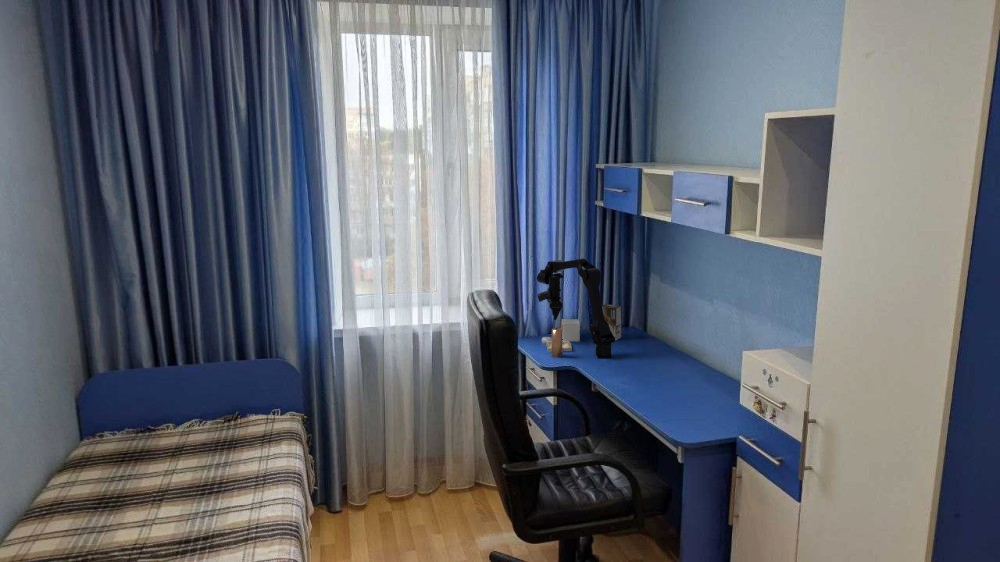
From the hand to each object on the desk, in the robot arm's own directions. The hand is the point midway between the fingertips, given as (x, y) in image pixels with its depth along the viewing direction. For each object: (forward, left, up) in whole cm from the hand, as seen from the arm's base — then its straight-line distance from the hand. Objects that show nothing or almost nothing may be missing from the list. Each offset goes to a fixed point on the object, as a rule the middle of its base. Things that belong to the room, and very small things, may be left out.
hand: (554, 317), depth 330 cm
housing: (-8, 0, -11) cm, 14 cm away
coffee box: (-28, -2, -11) cm, 30 cm away
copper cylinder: (+1, +27, -11) cm, 29 cm away
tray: (-1, +15, -11) cm, 19 cm away
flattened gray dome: (+4, +6, -11) cm, 13 cm away
